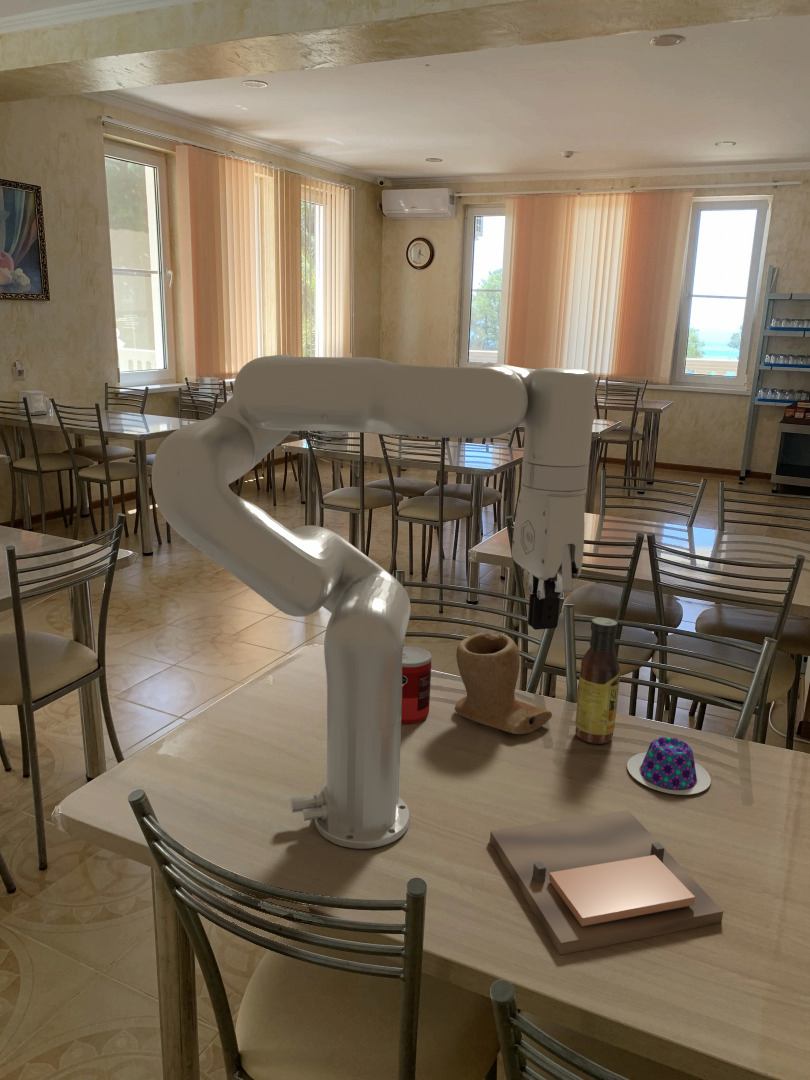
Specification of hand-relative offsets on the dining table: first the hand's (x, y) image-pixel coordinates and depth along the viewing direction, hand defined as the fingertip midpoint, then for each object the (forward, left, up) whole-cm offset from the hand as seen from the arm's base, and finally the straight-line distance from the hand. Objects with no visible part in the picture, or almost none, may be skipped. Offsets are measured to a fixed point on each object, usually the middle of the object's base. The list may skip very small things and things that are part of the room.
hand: (542, 626), depth 97 cm
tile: (+5, -15, -26) cm, 31 cm away
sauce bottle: (+22, +22, -29) cm, 43 cm away
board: (+5, -10, -29) cm, 31 cm away
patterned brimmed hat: (+27, +9, -30) cm, 41 cm away
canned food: (-6, +36, -29) cm, 47 cm away
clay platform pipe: (+8, +30, -29) cm, 43 cm away
